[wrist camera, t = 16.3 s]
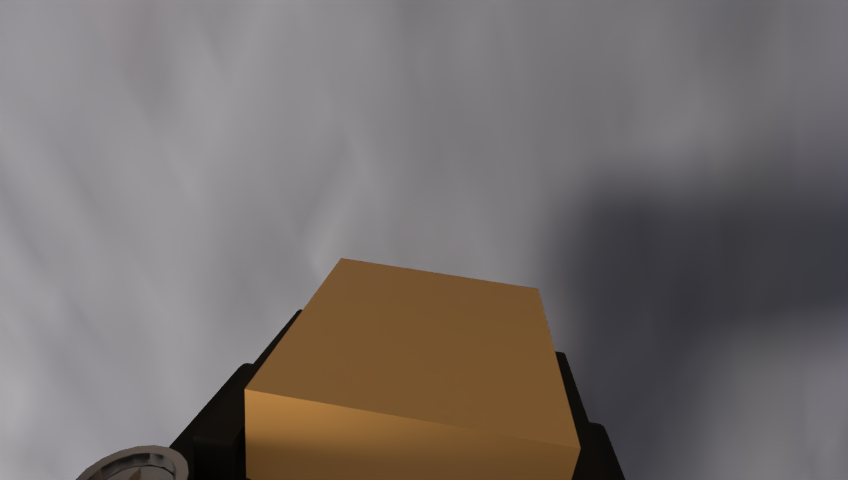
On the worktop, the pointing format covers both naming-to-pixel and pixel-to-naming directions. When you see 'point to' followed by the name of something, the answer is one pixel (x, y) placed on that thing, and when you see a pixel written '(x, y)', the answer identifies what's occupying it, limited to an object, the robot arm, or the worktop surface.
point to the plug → (411, 384)
